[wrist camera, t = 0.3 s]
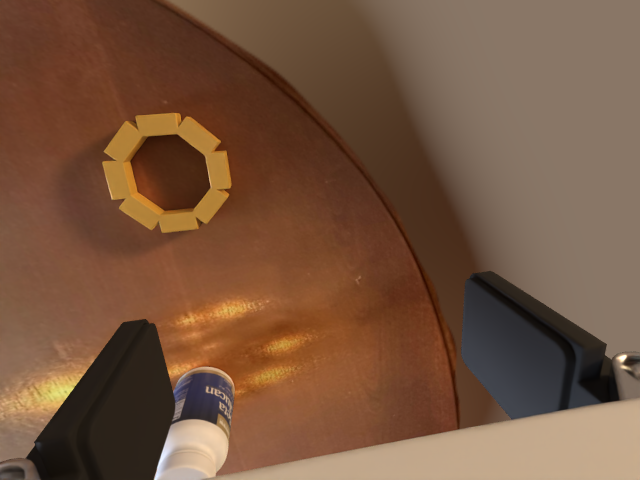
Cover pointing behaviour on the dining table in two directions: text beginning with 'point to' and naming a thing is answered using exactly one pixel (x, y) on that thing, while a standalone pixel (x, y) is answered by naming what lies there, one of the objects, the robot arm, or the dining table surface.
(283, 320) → the dining table surface
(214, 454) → the pill bottle
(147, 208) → the ring
